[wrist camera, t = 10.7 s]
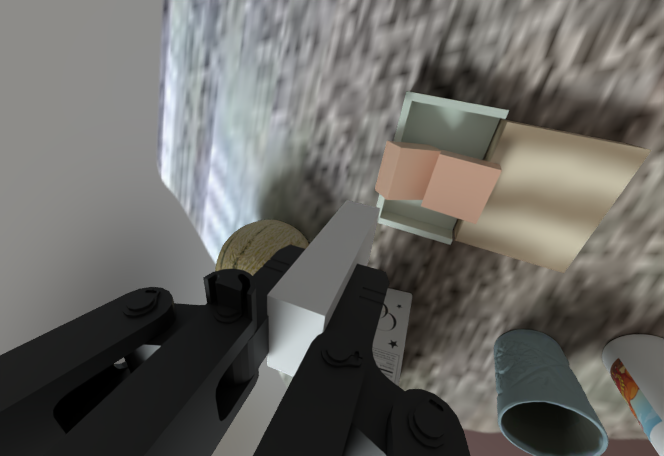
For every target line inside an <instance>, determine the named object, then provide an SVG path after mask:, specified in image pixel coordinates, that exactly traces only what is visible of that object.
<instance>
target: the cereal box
mask: <svg viewBox="0 0 664 456" xmlns="http://www.w3.org/2000/svg"><path fill="white" fill-rule="evenodd" d="M411 302H412V294H411V293H407V292H403V291H399V290H394V289H390V288H388V289H387V293H386V297H385V300H384V304H383V308H382V311H381V315H380V319H379V322H378V326H377V330H376V333H375V337H374V341H373V347H372V351H373V357H374V359H375V362H376V364H377V366H378V367H379V369H380V370H381V371H382V373H383V374H384V375H385V376H386V377H387V378H389V379H390V380H391V381H392V382H393V383H395V384H396V385H397V386H398V385H399V379H400V373H401V366H402V360H403V353H404V347H405V340H406V334H407V328H408V321H409V315H410V308H411Z"/></svg>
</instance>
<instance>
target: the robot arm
mask: <svg viewBox="0 0 664 456" xmlns="http://www.w3.org/2000/svg"><path fill="white" fill-rule="evenodd" d="M379 212H380V208H378V207H374V206H370V205H366V204H361V203H357V202H353V201H349V200H346V201H345V203H344V204H343V205H342V206H341V207H340V209H339V210H338V211H337V212H336V213H335V215H334V216H333V217H332V218H331V219H330V221H329V222H328V223H327V224H326V225H325V227H324V228H323V229H322V230H321V231H320V233H319V234H318V235H317V236H316V237H315V239H314V240H313V241H312V242H311V243H310V245H309V246H308V247H307V248H306V249H304V248H301V247H298V246H294V245H291V244H290V245H288V246H286V247H284V248H281V249H279V250H278V251H277V252H276V253H275V254H274V255H273V256H272V257H271V258H270V260H268V261H267V262H266V263H265V264H264V265H263V267H261V268H260V269H259V270H258V271H257V272H256V273H255V274H254V275H253V276H252V275H251V274H250V273H248V272H246V271H244V270H240V269H234V268H233V269H222V270H219V271H215V272H212V273H211V274H209V275H207V276H205V277H204V285H205V291H206V298H207V304H206V305H189V304H176V303H174V301H173V297H172V295H171V294H170V292H169V291H167V290H165V289H163V288H158V287H149V288H142V289H138V290H135V291H132V292H130V293H127V294H125V295H123V296H121V297H119V298H117V299H115V300H113V301H111V302H109V303H107V304H105V305H103V306H101V307H98V308H96V309H95V310H92V311H90V312H88V313H86V314H84V315H82V316H80V317H78V318H76V319H74V320H72V321H70V322H68V323H66V324H64V325H62V326H60V327H58V328H55V329H53V330H51V331H49V332H47V333H45V334H43V335H41V336H39V337H37V338H35V339H33V340H31V341H29V342H27V343H25V344H23V345H21V346H19V347H16V348H14V349H12V350H10V351H8V352H6V353H4V354H2V355H0V456H211V455H212V454H213V452H214V450H215V449H216V447H217V445H218V444H219V442H220V440H221V439H222V437H223V436H224V434H225V433H226V431H227V429H228V428H229V426H230V425H231V423H232V421H233V420H234V418H235V416H236V415H237V413H238V412H239V410H240V409H241V407H242V405H243V403H244V402H245V401H246V399H247V397H248V396H249V394H250V392H251V391H252V389H253V387H254V386H255V384H256V382H257V379H258V376H259V371H258V368H259V366H260V365H261V363H262V362H263V360H264V359H265V357H266V356H268V357H267V360H268V361H267V362H268V363H267V365H268V366H269V367H271V368H274V369H276V370H278V371H281V372H283V373H285V374H288V375H290V376H292V377H293V379H292V381H291V383H290V385H289V387H288V389H287V391H286V393H285V395H284V396H283V399H282V401H281V402H280V404H279V406H278V408H277V410H276V412H275V414H274V416H273V418H272V420H271V422H270V424H269V426H268V427H267V430H266V431H265V433H264V435H263V437H262V439H261V441H260V443H259V445H258V447H257V449H256V451H255V453H254V455H253V456H470V452H469V449H468V445H467V441H466V438H465V434H464V431H463V428H462V426H461V424H460V422H459V419H458V417H457V415H456V414H455V413H454V412H453V410H452V409H451V408H450V407H449V405H448V404H447V403H446V402H445V401H443V400H442V399H441V398H439V397H438V396H436V395H435V394H433V393H431V392H428V391H425V390H422V389H409V390H407V391H404V390H403V389H401V388H400V387H399V386H397V385H396V384H395V383H393V382H392V381H391V380H390V379H389V378H387V377H386V376H385V375H384V374H383V373H382V371H381V370H380V369H379V367H378V366H377V364H376V362H375V359H374V357H373V351H372V347H373V341H374V337H375V333H376V330H377V326H378V322H379V319H380V315H381V311H382V308H383V304H384V300H385V297H386V293H387V289H388V286H389V281H388V278H387V275H386V272H384V271H380V270H377V269H374V268H371V267H367V263H368V261H369V257H370V253H371V248H372V244H373V239H374V234H375V230H376V225H377V221H378V216H379ZM123 357H124V358H125V362H123V363H122V364H114V363H115V362H117V361H119V360H120V359H122V358H123Z"/></svg>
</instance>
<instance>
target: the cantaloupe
mask: <svg viewBox="0 0 664 456" xmlns="http://www.w3.org/2000/svg"><path fill="white" fill-rule="evenodd" d="M290 244H291V245H294V246H298V247H301V248H304V249H306V248H307V247H308V246H309V243H308V241H307V240H306V238H305V237H304V236H303V235H302V233H301V232H300V231H298V230H297V229H296V228H294V227H293V226H291V225H289V224H287V223H284V222H282V221H278V220H271V219H268V220H261V221H257V222H253V223H250V224H248V225H245V226H243V227H241V228H240V229H238V230H237V231H236V232H234V233H233V234H232V235H231V236H230V237H229V238H228V240H227V241H226V242H225V243H224V245H223V247H222V249H221V251H220V254H219V256H218V259H217V263H216V268H215V271H219V270H222V269H233V268H234V269H240V270H244V271H246V272H248V273H250V274H251V275H252V276H253V275H254V274H255V273H256V272H257V271H258V270H259V269H260V268H261V267H263V265H264V264H265V263H266V262H267V261H268V260H270V258H271V257H272V256H273V255H274V254H275V253H276V252H277V251H278V250H279V249H281V248H284V247H286V246H288V245H290Z"/></svg>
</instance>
